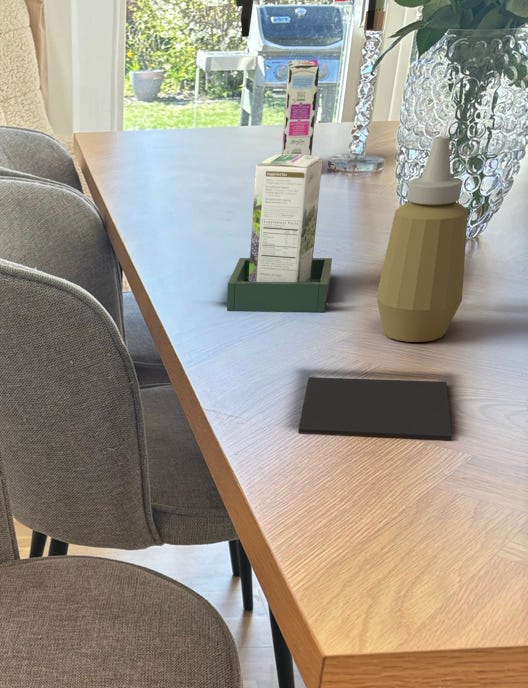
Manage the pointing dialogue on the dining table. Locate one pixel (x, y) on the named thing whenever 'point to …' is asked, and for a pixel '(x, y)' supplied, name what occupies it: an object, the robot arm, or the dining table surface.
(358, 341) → the dining table surface
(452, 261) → the squeeze bottle
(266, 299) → the tray
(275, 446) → the dining table surface
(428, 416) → the mat
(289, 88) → the candy bar box
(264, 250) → the syrup box
